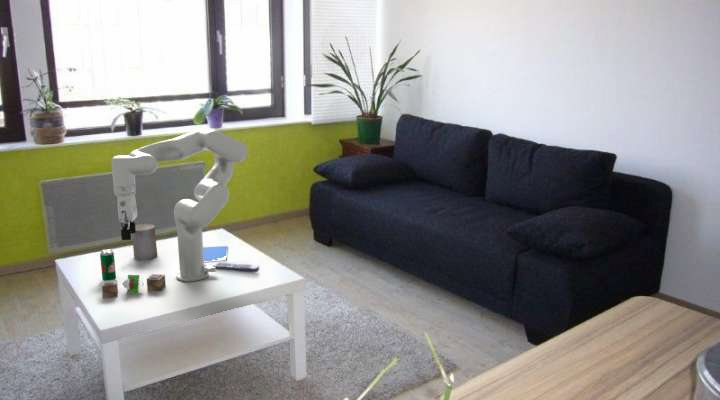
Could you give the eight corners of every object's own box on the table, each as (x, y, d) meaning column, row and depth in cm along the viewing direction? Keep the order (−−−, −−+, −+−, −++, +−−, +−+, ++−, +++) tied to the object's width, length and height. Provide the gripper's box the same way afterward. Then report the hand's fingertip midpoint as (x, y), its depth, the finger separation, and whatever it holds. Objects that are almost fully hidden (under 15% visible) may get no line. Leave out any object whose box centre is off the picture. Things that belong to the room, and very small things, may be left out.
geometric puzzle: (129, 281, 246) (123, 270, 240) (147, 281, 246) (141, 270, 240) (124, 297, 242) (118, 286, 235) (142, 297, 241) (136, 286, 235)
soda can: (111, 282, 250) (108, 253, 247) (99, 281, 251) (97, 252, 248) (118, 278, 255) (116, 249, 252) (107, 277, 256) (104, 248, 253)
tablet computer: (227, 262, 275) (226, 259, 275) (196, 264, 273) (196, 261, 273) (228, 248, 294) (227, 245, 293) (199, 249, 292) (199, 247, 291)
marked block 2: (165, 287, 246) (164, 274, 245) (160, 292, 242) (159, 278, 240) (153, 286, 247) (152, 273, 246) (147, 291, 242) (146, 278, 241)
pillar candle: (148, 251, 287) (145, 219, 283) (162, 255, 281) (159, 223, 278) (129, 257, 279) (125, 224, 276) (143, 262, 274) (139, 228, 270)
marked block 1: (117, 292, 241) (116, 278, 240) (117, 296, 237) (116, 283, 236) (103, 293, 240) (102, 280, 239) (102, 298, 235) (101, 285, 234)
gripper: (130, 195, 224) (134, 243, 228) (140, 184, 241) (143, 229, 245) (108, 195, 223) (112, 244, 227) (119, 184, 240) (123, 230, 244)
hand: (128, 236), depth 236 cm, fingers open, 7 cm apart
